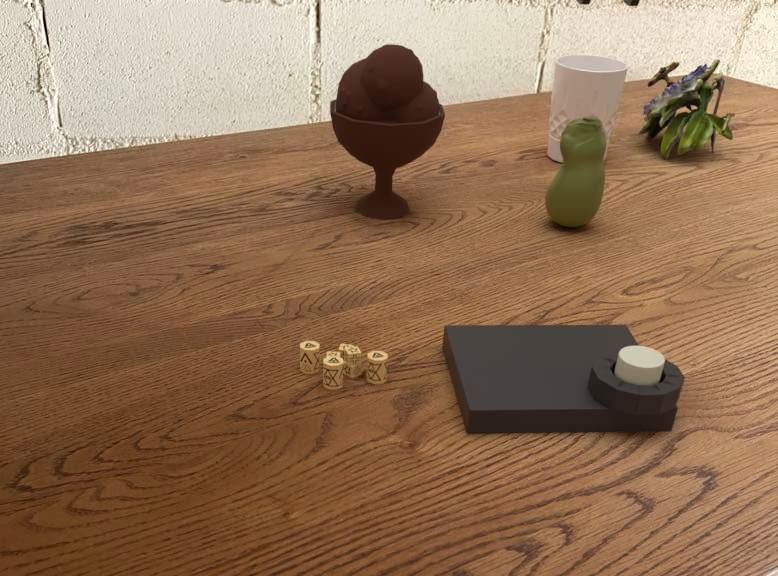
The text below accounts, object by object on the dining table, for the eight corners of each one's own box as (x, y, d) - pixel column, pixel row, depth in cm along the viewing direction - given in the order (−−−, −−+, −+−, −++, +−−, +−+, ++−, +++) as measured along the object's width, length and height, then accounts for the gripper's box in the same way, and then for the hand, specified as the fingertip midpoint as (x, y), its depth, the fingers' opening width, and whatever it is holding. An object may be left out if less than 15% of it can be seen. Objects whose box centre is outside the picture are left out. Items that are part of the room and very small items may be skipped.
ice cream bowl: (456, 205, 94) (472, 41, 84) (396, 238, 87) (406, 62, 77) (370, 182, 98) (375, 23, 89) (306, 212, 91) (304, 42, 82)
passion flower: (641, 185, 117) (654, 88, 116) (732, 183, 113) (746, 82, 112) (627, 151, 107) (641, 45, 106) (728, 148, 102) (743, 36, 102)
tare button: (651, 365, 63) (656, 345, 62) (665, 388, 61) (671, 367, 60) (608, 365, 63) (613, 345, 62) (621, 388, 61) (626, 367, 60)
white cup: (527, 154, 108) (540, 59, 101) (570, 142, 112) (585, 50, 105) (581, 172, 103) (598, 75, 97) (623, 159, 107) (642, 65, 101)
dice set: (390, 382, 66) (392, 358, 65) (327, 398, 64) (327, 374, 63) (356, 351, 70) (357, 327, 68) (295, 366, 67) (294, 342, 66)
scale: (626, 346, 72) (636, 304, 69) (682, 439, 62) (696, 393, 60) (442, 347, 70) (446, 304, 68) (469, 442, 61) (474, 396, 58)
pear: (583, 240, 88) (604, 129, 82) (532, 227, 90) (548, 118, 84) (604, 222, 92) (625, 115, 85) (554, 210, 94) (572, 105, 87)
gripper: (571, -271, 64) (534, 10, 75) (766, -261, 66) (702, 14, 77) (547, -268, 70) (516, -7, 81) (727, -258, 71) (673, -3, 82)
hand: (607, 2), depth 79 cm, fingers open, 3 cm apart
